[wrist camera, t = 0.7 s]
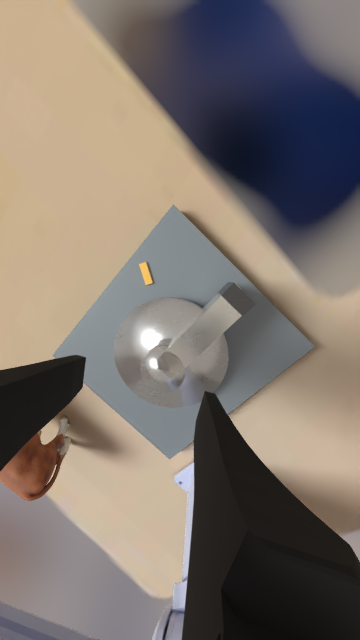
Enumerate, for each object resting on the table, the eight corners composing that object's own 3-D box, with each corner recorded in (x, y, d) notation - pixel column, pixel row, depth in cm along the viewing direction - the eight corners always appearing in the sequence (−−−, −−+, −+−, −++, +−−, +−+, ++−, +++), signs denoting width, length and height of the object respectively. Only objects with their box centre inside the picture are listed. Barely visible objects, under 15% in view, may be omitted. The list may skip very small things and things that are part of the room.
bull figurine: (14, 364, 23) (-85, 408, 15) (90, 436, 24) (35, 513, 16) (-3, 383, 24) (-104, 434, 16) (70, 452, 25) (9, 532, 17)
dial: (276, 331, 17) (300, 348, 13) (173, 418, 20) (166, 454, 16) (190, 246, 16) (186, 235, 12) (98, 350, 19) (70, 369, 15)
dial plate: (305, 341, 18) (316, 347, 16) (171, 447, 23) (169, 460, 21) (175, 210, 17) (172, 203, 15) (62, 350, 22) (50, 356, 20)
